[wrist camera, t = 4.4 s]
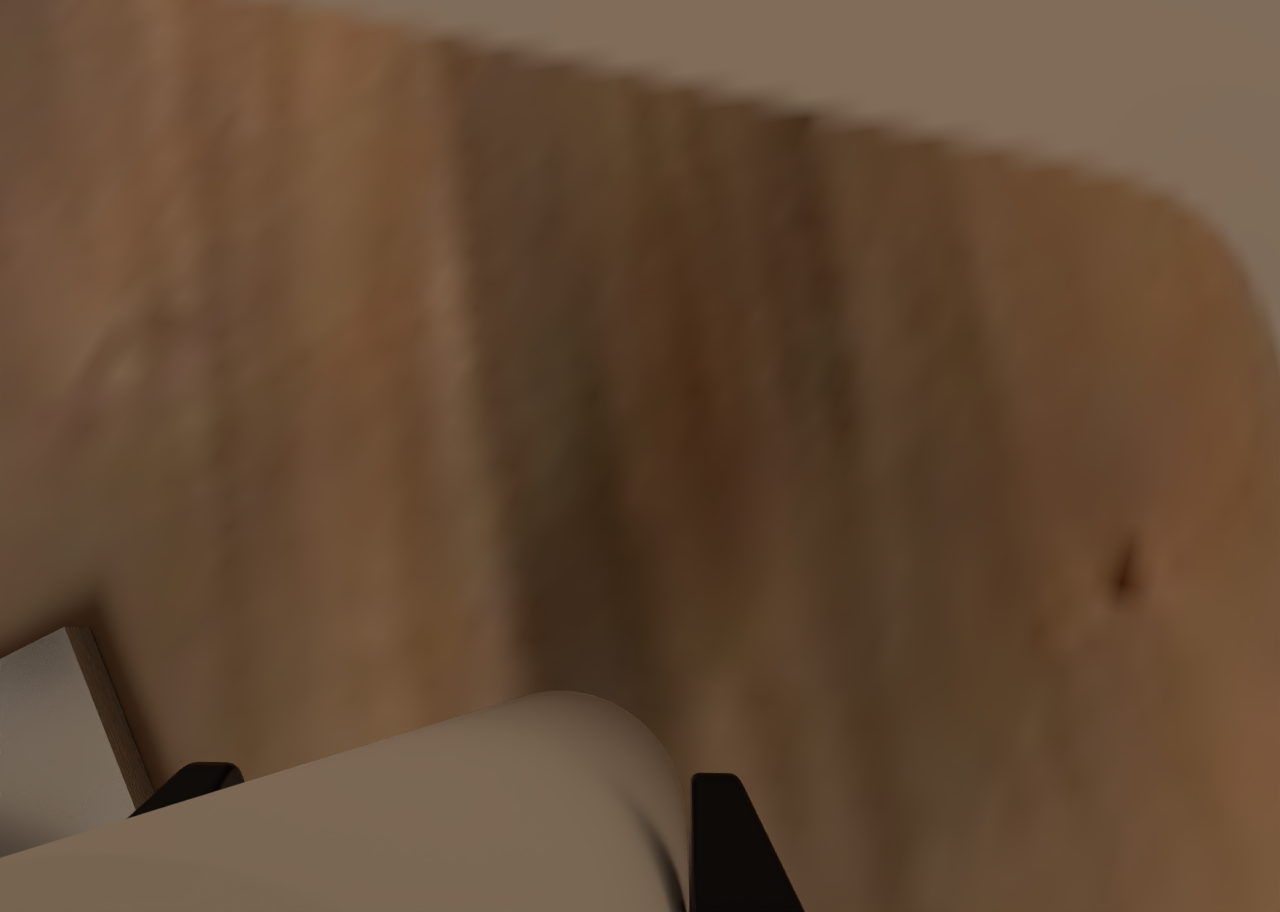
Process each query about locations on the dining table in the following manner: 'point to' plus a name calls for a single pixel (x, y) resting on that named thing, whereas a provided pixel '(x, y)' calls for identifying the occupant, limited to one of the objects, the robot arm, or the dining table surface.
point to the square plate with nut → (63, 744)
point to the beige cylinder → (403, 828)
